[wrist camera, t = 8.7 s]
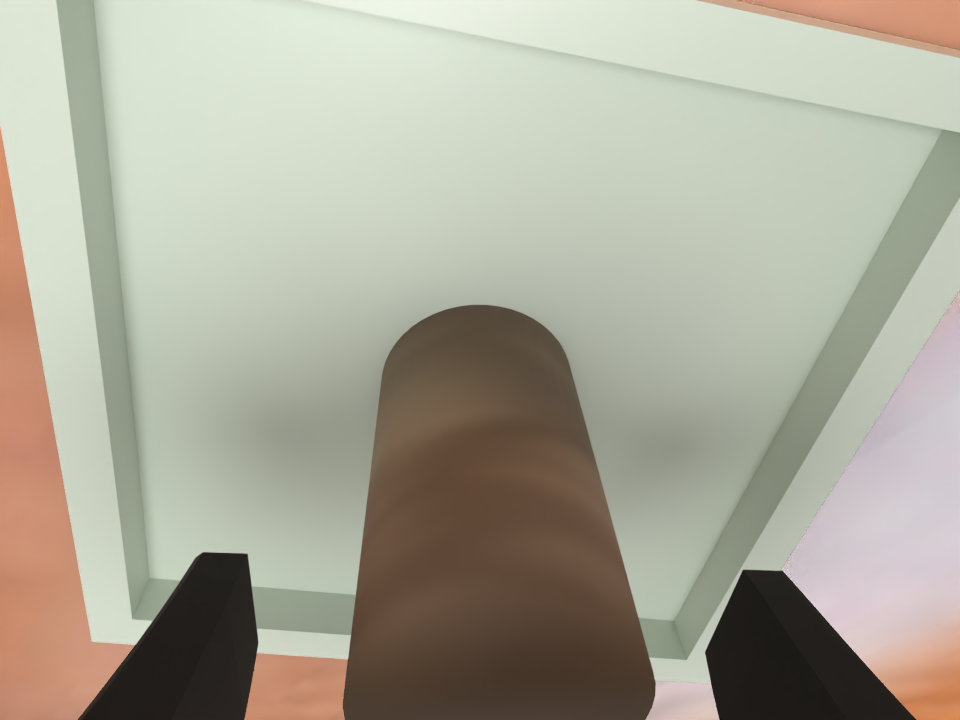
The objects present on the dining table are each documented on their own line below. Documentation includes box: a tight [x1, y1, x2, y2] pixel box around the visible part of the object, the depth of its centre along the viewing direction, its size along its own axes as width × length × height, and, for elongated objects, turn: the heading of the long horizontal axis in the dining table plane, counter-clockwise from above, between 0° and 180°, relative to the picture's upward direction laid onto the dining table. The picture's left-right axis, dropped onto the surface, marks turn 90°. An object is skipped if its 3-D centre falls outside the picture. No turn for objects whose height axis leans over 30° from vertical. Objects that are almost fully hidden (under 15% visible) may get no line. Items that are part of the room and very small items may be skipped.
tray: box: [0, 0, 960, 684], centre depth 15 cm, size 16×16×2 cm
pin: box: [343, 305, 655, 720], centre depth 12 cm, size 4×4×7 cm
